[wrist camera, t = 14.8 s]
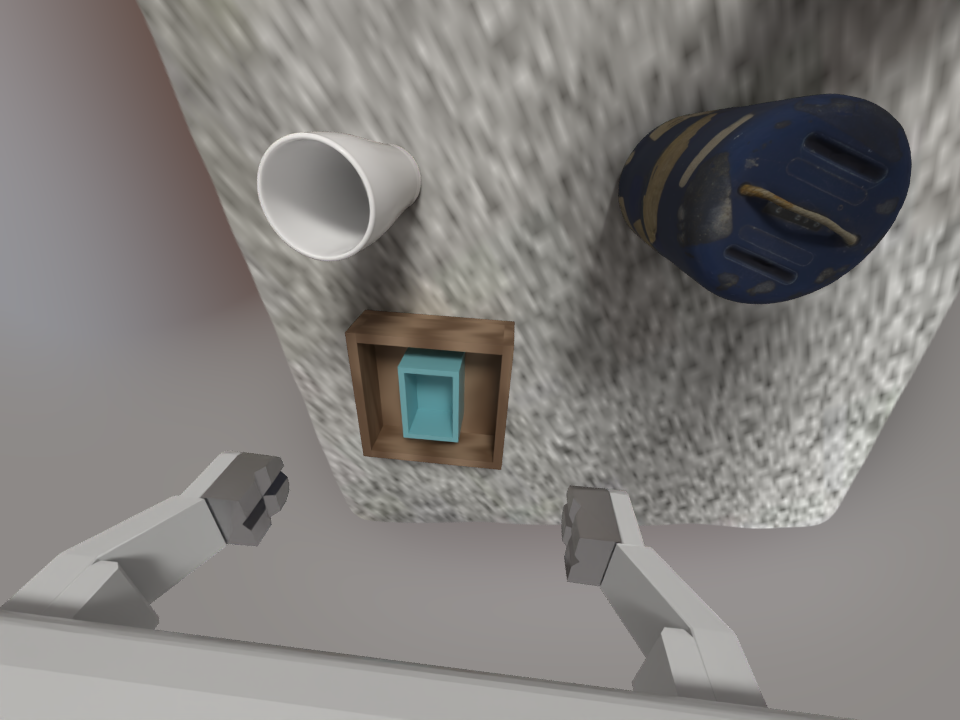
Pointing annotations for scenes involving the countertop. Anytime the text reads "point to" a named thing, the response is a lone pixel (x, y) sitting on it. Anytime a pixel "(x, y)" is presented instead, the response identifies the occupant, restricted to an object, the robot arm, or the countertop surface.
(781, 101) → the canister
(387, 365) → the walnut crate
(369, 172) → the white cup
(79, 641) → the robot arm
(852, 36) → the countertop surface
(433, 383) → the teal crate
